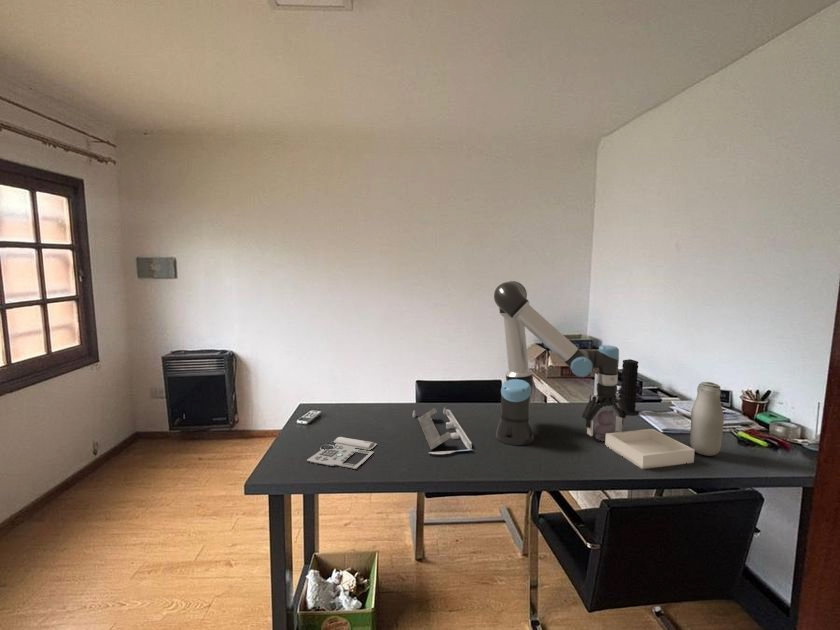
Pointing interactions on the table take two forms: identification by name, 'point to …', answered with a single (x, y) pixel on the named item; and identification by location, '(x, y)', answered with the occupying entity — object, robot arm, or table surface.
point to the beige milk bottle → (707, 420)
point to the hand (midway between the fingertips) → (604, 433)
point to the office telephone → (343, 452)
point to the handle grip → (629, 385)
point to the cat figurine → (604, 424)
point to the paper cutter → (436, 439)
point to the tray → (649, 448)
